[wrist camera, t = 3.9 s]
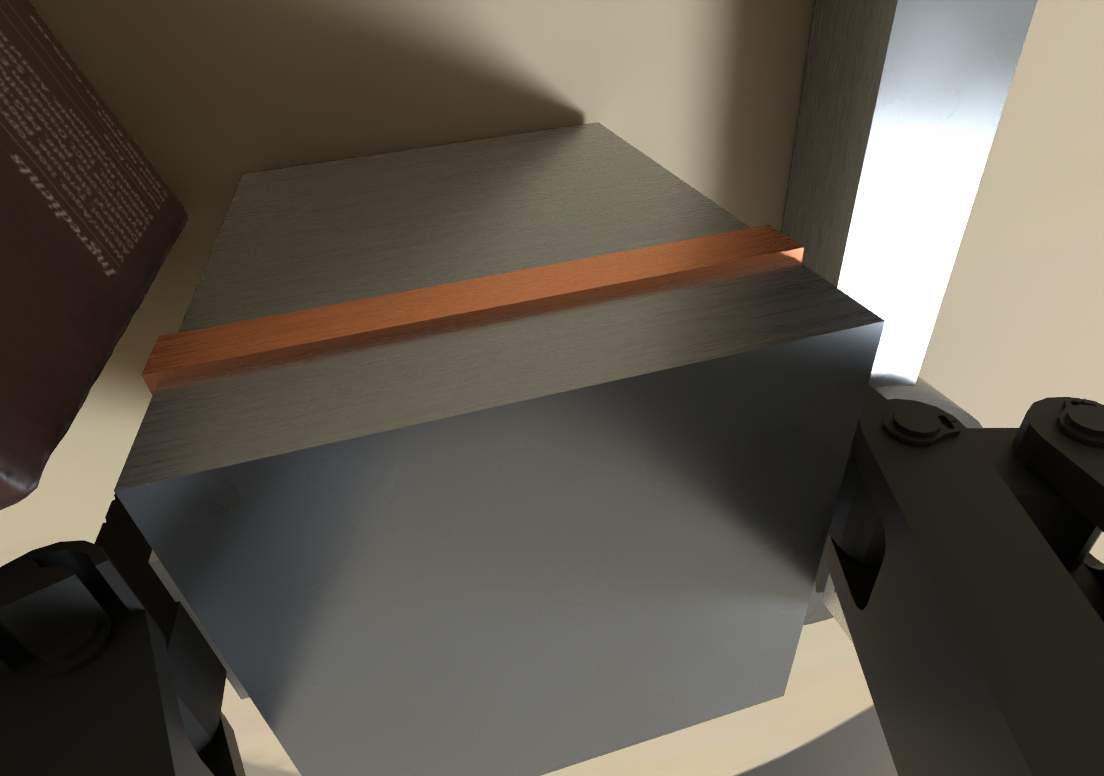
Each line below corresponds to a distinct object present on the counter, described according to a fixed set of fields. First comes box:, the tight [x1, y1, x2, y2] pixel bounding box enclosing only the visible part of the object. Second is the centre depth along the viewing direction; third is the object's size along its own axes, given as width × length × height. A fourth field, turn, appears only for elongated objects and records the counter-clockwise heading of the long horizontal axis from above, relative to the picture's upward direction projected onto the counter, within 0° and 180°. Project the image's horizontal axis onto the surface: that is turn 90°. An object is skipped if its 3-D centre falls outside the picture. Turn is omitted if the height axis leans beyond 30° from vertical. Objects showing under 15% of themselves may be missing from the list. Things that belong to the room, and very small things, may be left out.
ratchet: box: [782, 0, 1037, 642], centre depth 12 cm, size 24×8×6 cm, turn 4°
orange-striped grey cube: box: [114, 123, 885, 776], centre depth 10 cm, size 7×7×8 cm
